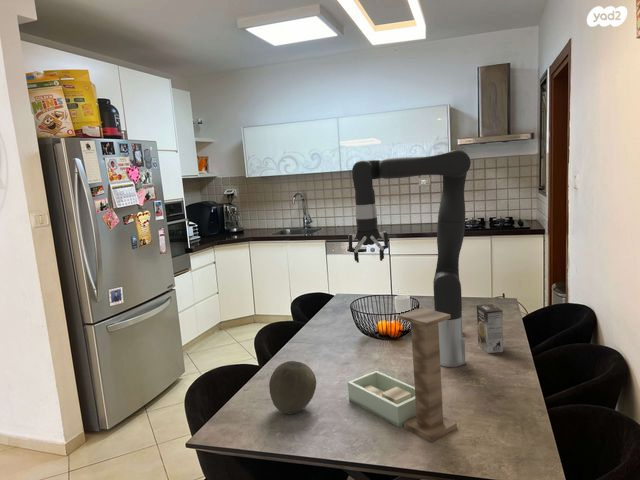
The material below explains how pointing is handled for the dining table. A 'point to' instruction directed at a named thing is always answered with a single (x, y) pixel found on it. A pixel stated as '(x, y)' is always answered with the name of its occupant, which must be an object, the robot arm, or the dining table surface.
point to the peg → (391, 394)
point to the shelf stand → (427, 375)
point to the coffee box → (490, 328)
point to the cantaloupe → (292, 386)
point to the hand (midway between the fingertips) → (369, 261)
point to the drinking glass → (402, 303)
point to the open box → (378, 403)
